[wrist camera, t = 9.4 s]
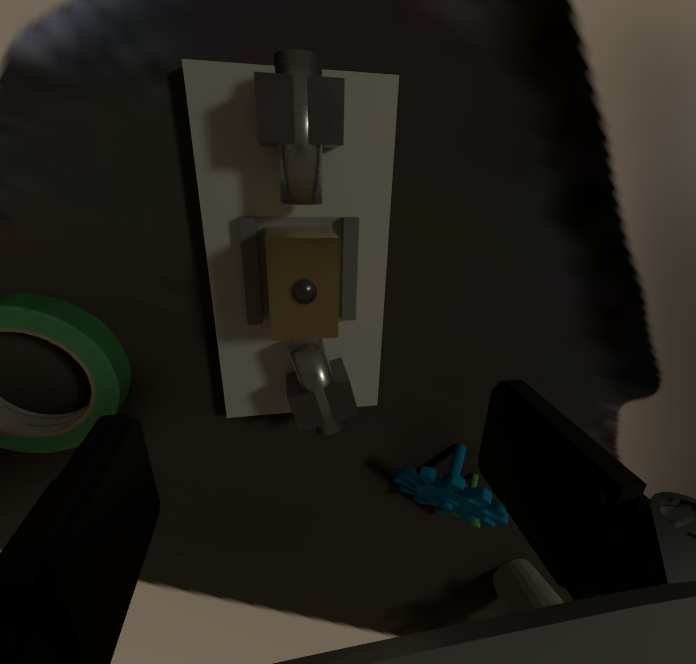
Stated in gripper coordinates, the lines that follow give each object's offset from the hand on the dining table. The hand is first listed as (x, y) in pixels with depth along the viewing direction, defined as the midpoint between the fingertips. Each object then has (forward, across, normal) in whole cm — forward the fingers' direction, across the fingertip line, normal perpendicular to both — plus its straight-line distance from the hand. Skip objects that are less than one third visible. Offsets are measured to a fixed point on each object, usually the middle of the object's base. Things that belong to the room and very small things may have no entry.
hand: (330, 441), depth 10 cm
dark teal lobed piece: (+19, -13, +20) cm, 30 cm away
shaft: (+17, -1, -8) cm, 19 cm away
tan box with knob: (+17, 0, 0) cm, 17 cm away
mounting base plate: (+18, 0, 0) cm, 18 cm away
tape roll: (+19, +18, +6) cm, 27 cm away
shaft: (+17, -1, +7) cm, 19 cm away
